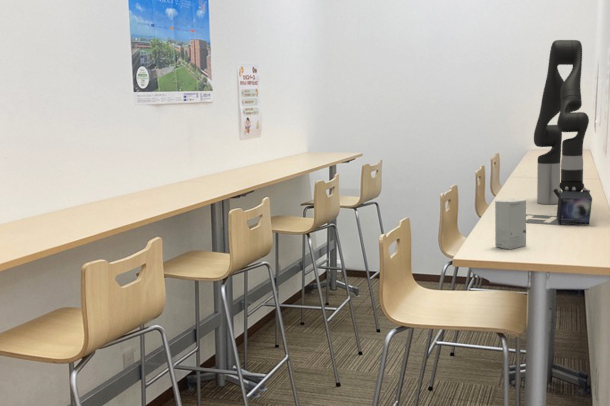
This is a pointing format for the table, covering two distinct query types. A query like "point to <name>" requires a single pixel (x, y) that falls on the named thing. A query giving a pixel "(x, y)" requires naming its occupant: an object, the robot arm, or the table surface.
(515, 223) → the skincare box
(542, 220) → the letter board
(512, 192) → the table surface
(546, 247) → the table surface
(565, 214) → the small box
